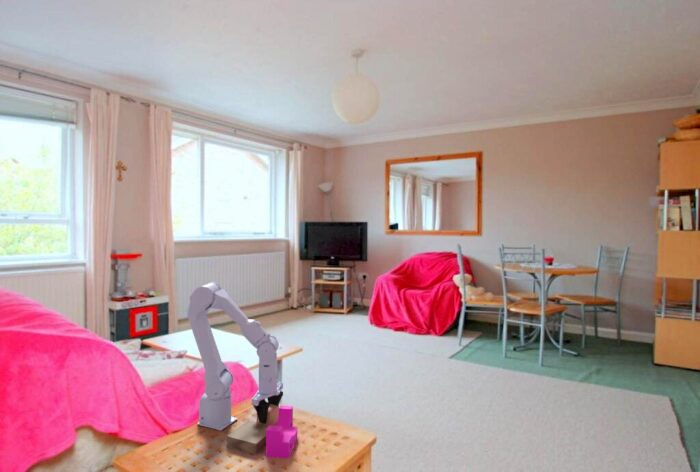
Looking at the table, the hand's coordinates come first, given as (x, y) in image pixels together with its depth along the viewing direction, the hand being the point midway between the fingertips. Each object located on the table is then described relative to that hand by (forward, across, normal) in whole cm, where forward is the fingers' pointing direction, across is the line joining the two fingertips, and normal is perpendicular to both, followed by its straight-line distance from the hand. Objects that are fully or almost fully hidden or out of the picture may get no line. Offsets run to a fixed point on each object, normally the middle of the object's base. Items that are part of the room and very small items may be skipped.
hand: (267, 418), depth 131 cm
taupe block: (+1, -11, -2) cm, 11 cm away
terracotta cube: (+1, 0, 0) cm, 1 cm away
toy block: (+2, -8, -11) cm, 13 cm away
